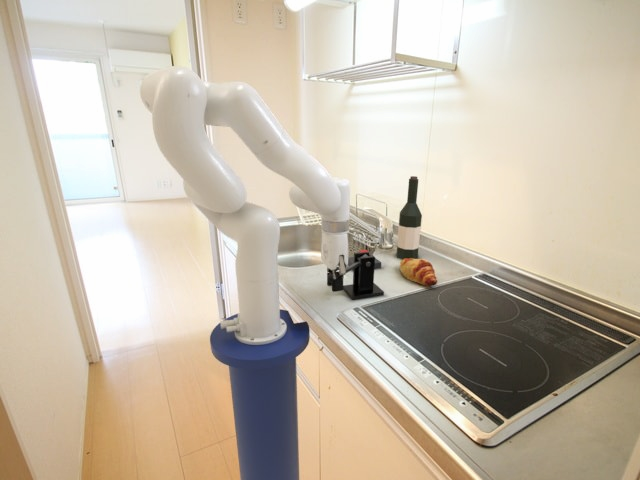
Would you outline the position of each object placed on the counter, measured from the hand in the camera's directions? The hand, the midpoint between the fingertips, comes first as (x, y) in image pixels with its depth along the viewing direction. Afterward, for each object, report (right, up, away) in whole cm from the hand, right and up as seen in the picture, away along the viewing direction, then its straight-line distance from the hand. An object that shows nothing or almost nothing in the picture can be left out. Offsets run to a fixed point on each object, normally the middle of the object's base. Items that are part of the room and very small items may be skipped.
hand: (335, 287), depth 103 cm
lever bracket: (+8, -2, +4) cm, 9 cm away
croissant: (+27, +2, +16) cm, 31 cm away
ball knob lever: (+4, +4, 0) cm, 6 cm away
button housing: (+9, +6, +25) cm, 27 cm away
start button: (+9, +9, +23) cm, 27 cm away
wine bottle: (+26, +9, +35) cm, 45 cm away
